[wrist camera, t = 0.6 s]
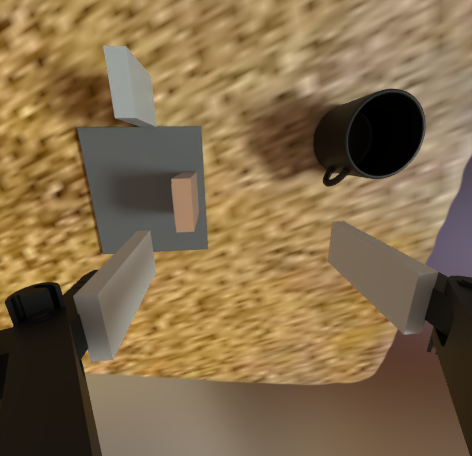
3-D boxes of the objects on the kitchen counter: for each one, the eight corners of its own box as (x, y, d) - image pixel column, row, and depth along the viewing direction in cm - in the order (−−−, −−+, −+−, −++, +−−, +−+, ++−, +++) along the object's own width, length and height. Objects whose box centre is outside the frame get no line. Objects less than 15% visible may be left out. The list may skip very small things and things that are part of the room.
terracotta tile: (180, 172, 33) (169, 178, 25) (196, 172, 34) (190, 178, 25) (184, 213, 35) (174, 232, 27) (199, 212, 35) (194, 231, 27)
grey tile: (133, 76, 30) (100, 45, 21) (151, 76, 30) (126, 46, 21) (140, 127, 32) (112, 118, 23) (156, 127, 32) (135, 117, 23)
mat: (79, 127, 31) (77, 127, 30) (201, 126, 32) (200, 126, 32) (104, 252, 37) (103, 254, 36) (207, 247, 38) (207, 249, 37)
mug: (288, 163, 35) (312, 167, 26) (341, 89, 32) (387, 67, 24) (333, 198, 37) (369, 212, 29) (386, 132, 35) (443, 125, 26)
